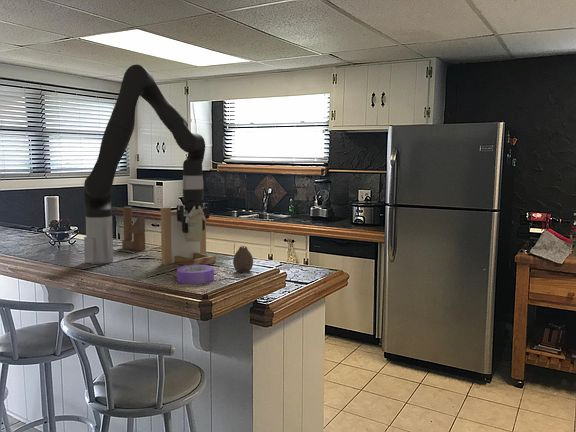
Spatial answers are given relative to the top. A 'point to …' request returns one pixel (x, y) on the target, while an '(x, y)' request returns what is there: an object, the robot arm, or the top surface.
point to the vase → (243, 260)
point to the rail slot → (195, 259)
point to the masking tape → (195, 274)
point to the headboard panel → (177, 238)
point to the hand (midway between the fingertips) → (193, 231)
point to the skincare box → (194, 227)
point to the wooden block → (133, 231)
